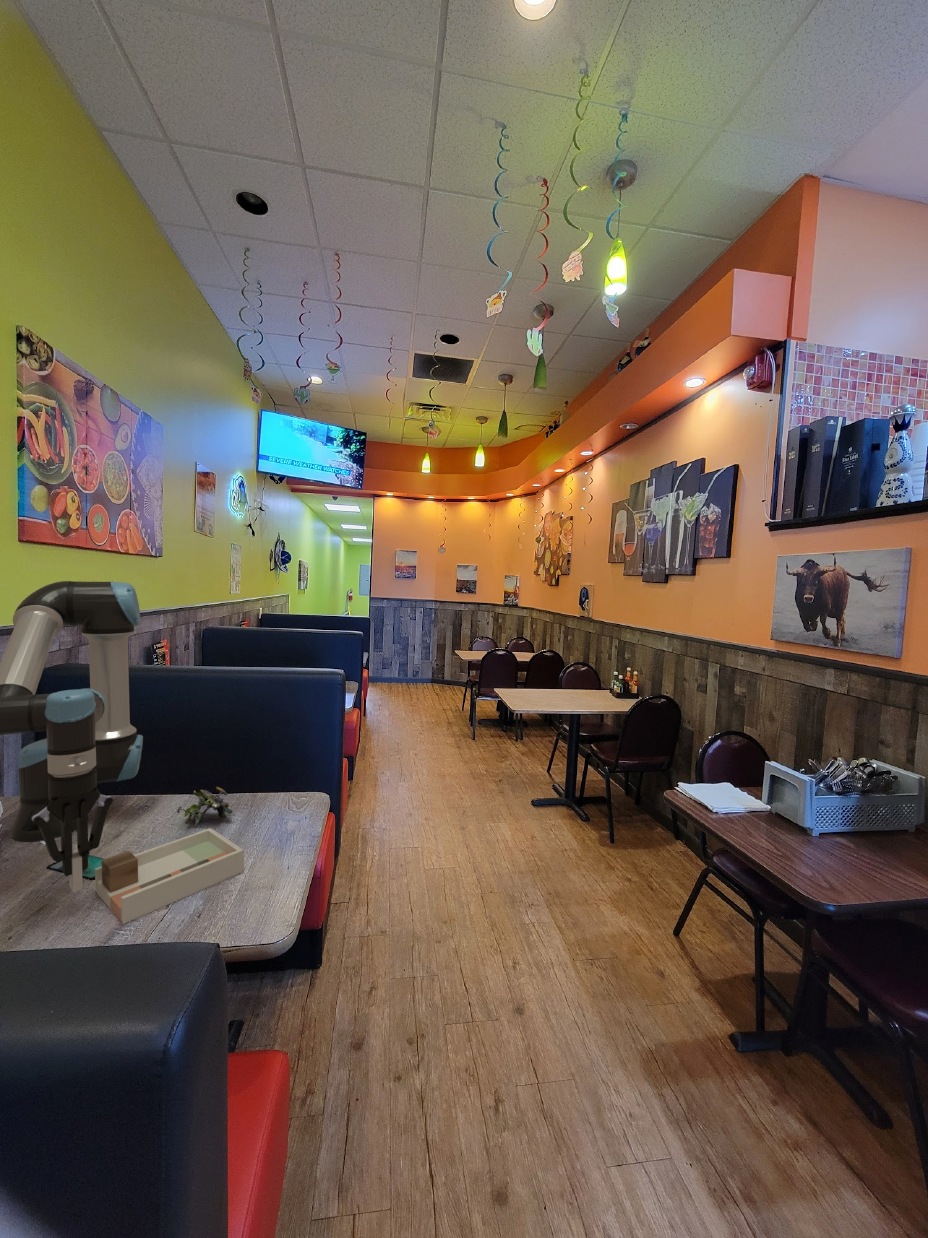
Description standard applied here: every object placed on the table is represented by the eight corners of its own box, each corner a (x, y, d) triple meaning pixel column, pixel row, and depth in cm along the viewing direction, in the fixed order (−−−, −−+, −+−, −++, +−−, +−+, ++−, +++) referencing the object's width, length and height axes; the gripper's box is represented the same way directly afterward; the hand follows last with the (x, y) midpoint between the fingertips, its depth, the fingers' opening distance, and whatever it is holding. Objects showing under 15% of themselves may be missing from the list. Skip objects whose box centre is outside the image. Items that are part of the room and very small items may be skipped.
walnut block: (102, 883, 107) (101, 860, 107) (129, 873, 111) (128, 850, 111) (110, 893, 104) (109, 869, 104) (138, 882, 108) (137, 859, 108)
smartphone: (76, 851, 123) (123, 862, 119) (76, 854, 123) (123, 866, 119) (44, 867, 117) (93, 879, 112) (44, 870, 117) (93, 883, 112)
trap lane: (95, 891, 108) (94, 868, 108) (210, 847, 127) (210, 828, 127) (123, 924, 98) (122, 899, 98) (243, 871, 117) (243, 850, 117)
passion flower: (220, 836, 144) (244, 805, 142) (186, 847, 134) (210, 813, 132) (201, 806, 148) (223, 775, 146) (166, 814, 138) (189, 781, 136)
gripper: (34, 785, 92) (38, 911, 94) (118, 766, 103) (120, 881, 104) (24, 775, 97) (28, 895, 99) (105, 758, 107) (108, 867, 109)
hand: (76, 887), depth 101 cm, fingers closed
